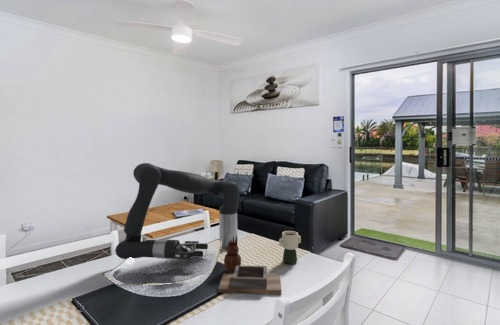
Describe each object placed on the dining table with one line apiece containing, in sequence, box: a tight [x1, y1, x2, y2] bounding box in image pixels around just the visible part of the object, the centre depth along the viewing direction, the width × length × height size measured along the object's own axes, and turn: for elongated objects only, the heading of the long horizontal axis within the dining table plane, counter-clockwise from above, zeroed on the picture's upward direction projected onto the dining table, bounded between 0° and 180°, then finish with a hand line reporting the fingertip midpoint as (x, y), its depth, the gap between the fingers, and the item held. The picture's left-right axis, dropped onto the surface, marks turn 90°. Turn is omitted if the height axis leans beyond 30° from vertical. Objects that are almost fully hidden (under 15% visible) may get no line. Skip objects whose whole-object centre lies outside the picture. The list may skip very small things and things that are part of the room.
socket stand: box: [217, 265, 282, 296], centre depth 105 cm, size 12×22×5 cm, turn 86°
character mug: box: [278, 230, 302, 265], centre depth 126 cm, size 11×7×13 cm, turn 113°
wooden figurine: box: [223, 235, 242, 274], centre depth 116 cm, size 7×6×15 cm
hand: (205, 250), depth 117 cm, fingers open, 8 cm apart
